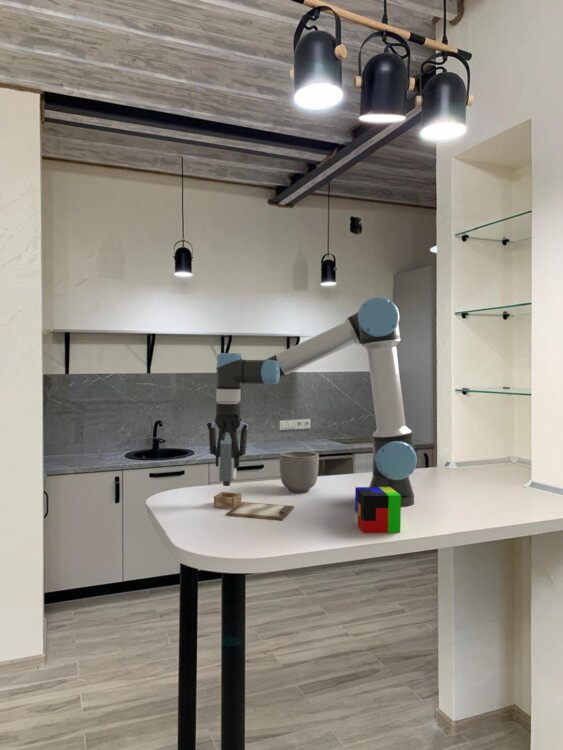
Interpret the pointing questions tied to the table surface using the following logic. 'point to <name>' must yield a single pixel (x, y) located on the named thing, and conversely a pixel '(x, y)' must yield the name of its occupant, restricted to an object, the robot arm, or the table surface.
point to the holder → (227, 500)
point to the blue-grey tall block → (226, 462)
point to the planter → (299, 470)
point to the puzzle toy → (377, 509)
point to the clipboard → (261, 511)
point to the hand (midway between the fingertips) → (227, 477)
